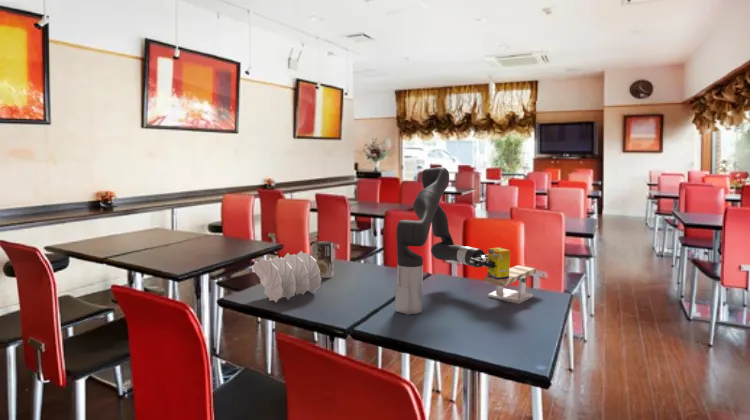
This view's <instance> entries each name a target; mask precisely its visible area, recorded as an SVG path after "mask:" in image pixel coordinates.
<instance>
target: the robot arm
mask: <svg viewBox="0 0 750 420" xmlns="http://www.w3.org/2000/svg"><path fill="white" fill-rule="evenodd" d="M421 182H422V187H423V188H422V190H420V191H419V192H418V193H417V195H416V198H415V200H414V202H413V211H414V213H415V215H416V217H418V219H419V220H413V219H412V220H411V219H401V220H399V221H398V223H397V226H396V232H395V234H396V235H395V236H396V250H397V251H396V258H397V259H396V260H397V263H396V264H397V266H396V267H397V272H396V273H397V274H396V277H397V278H396V279H397V282H396V283H397V284H396V285H395V288H394V289H395V291H394V292H395V294H394V295H395V296H394V297H395V300H394V301H395V302H394V304H395V305H394V307H395V308H394V309H395V312H397V313H401V314H405V315H406V316H407V315H417V314H420V313H422V312H423V282H424V281H423V279H424V278H423V276H424V275H423V274H424V272H423V271H424V269H423V268H424V259H423V256H422V255H420V254H418V253H415V252H414V251H413V250H411V249H410V248H409V247H423V246H424V245H425V244H426V243H427V240H428V237H429V233H430V229H431V230H432V234H433V236H434V237H435V238H440V240H441V241H439V242H436V243H434V244H433V245H432V247H431V248H430V252H431V255H432V257H434V258H435V259H437V260H440V261H454V262H458V263H461V264H463V265H467V266H470V267H473V268H482V267H483V268H488V267H490V268H495V263H494V262H491V261H488V253H487V254H486V253H485V252H484V250H483V249H481V248H477V247H474V246H473V247H471V246H466V245H465V246H464V245H460V244H455V243H454V241H453V238H452V234H451V233H450V229H449V223H448V222H449V219H448V217H447V213H446V212H445V210H444V209H443V208H442V206H441V205H440V202H441V198H442V197H443V195H444V192H445V191H446V190H447V187H448V185H449V183H450V173H449V171H448V169H447V168H446V167H442V166H441V167H440V166H438V167H430V168H424V169H423V170H422V173H421Z"/></svg>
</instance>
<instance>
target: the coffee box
mask: <svg viewBox="0 0 750 420" xmlns="http://www.w3.org/2000/svg"><path fill="white" fill-rule="evenodd" d="M311 248H312V249H311V251H312V254H311V256H312V257H313V258H314V259H315V260H316V261H317V262H316V263H317V264H318V267H319V270H320V278H321V279H322V278H329V279H332V278H333V277H334V276H335V272H334V271H335V269H334V268H335V267H334V265H335V263H334V262H335V261H334V260H335V258H334V256H335V255H334V241H318V240H317V241H314V242H313V243H312V244H311Z"/></svg>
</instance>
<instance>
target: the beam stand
mask: <svg viewBox="0 0 750 420" xmlns="http://www.w3.org/2000/svg"><path fill="white" fill-rule="evenodd" d="M526 285H527V277H525V276H523V277H520V278H519V280H518V290H514V289H510V288H505V287H503V286H498V285H495V287H496V288H495V290H494V291H492V292H490V293H488V298H490V299H491V298H492V299H496V300H501V301H505V302H509V303H513V304H517V305H519V304H522V303H523V302H525V301H528V300H530V299H531V298H533V294H532V293H530V292H529V293H528V292H526Z"/></svg>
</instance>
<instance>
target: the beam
mask: <svg viewBox="0 0 750 420" xmlns="http://www.w3.org/2000/svg"><path fill="white" fill-rule="evenodd" d="M536 273H537V268H536V267H532V266H526V265H525V266H524V265H515V266H512V267H510V269H509V278H505V279H498V280H497V279H495V278H492V277H490V276H484V280H483V283H484V284H489V285H495V286H496V285H498V286H503V288H505V287H507V286H508V285H511V284H513V283H515V282H519V278H520V277H523V276H525V277H526V278H527V277H529V276H530V277H531V275H532V276H533V275H534V274H536Z"/></svg>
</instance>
